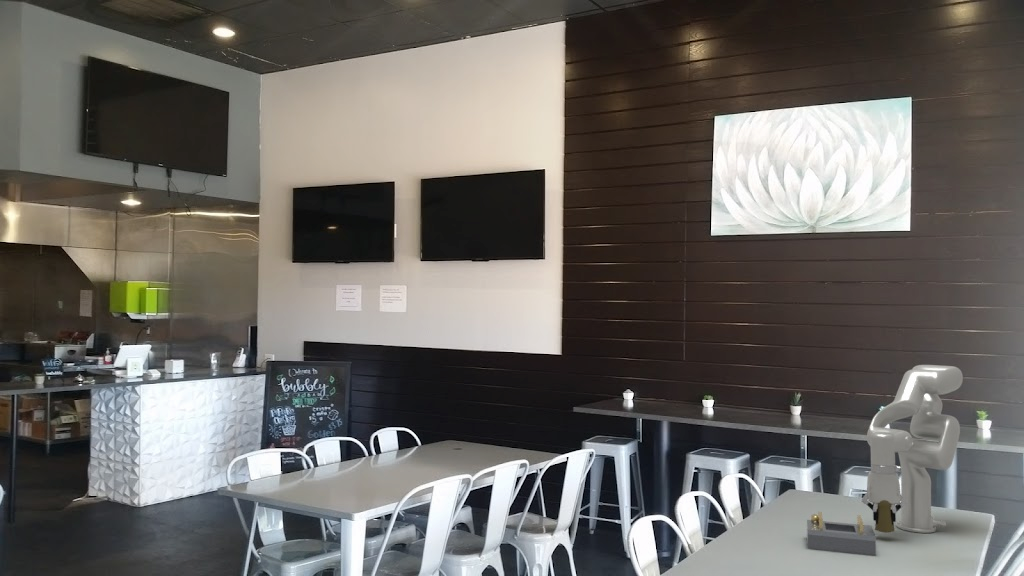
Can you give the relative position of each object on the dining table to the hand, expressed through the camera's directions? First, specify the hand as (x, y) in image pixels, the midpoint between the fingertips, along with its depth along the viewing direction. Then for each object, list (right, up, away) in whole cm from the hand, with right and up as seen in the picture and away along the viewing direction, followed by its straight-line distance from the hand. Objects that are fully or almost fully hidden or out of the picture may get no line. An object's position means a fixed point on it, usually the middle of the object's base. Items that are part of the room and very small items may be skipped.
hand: (884, 522), depth 271 cm
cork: (0, -3, 0) cm, 3 cm away
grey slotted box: (-19, -5, -10) cm, 22 cm away
